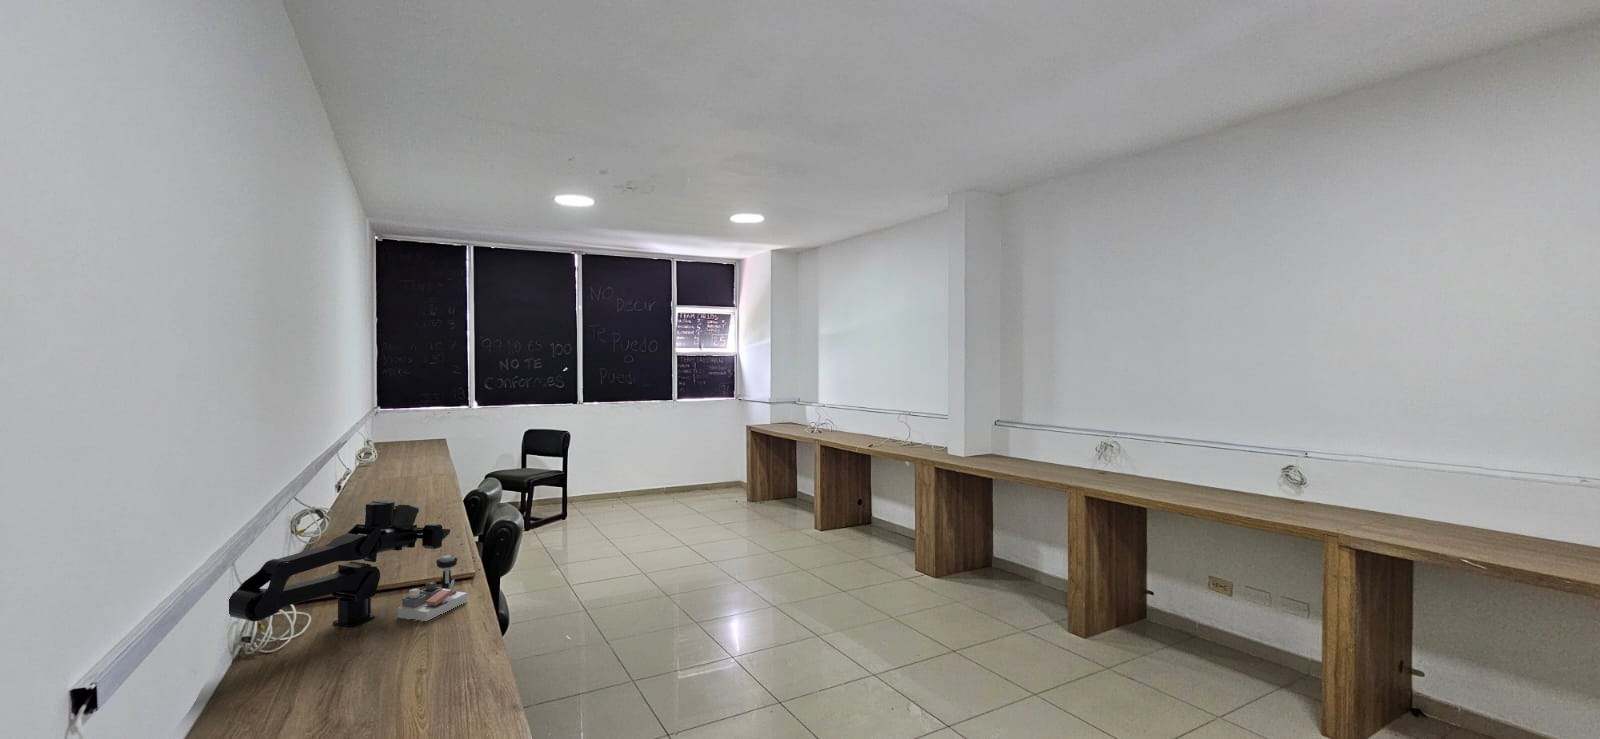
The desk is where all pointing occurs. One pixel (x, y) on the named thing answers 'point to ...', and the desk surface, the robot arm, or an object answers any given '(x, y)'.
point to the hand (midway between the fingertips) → (436, 530)
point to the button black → (430, 586)
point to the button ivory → (414, 594)
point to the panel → (426, 612)
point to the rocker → (439, 597)
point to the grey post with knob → (446, 569)
